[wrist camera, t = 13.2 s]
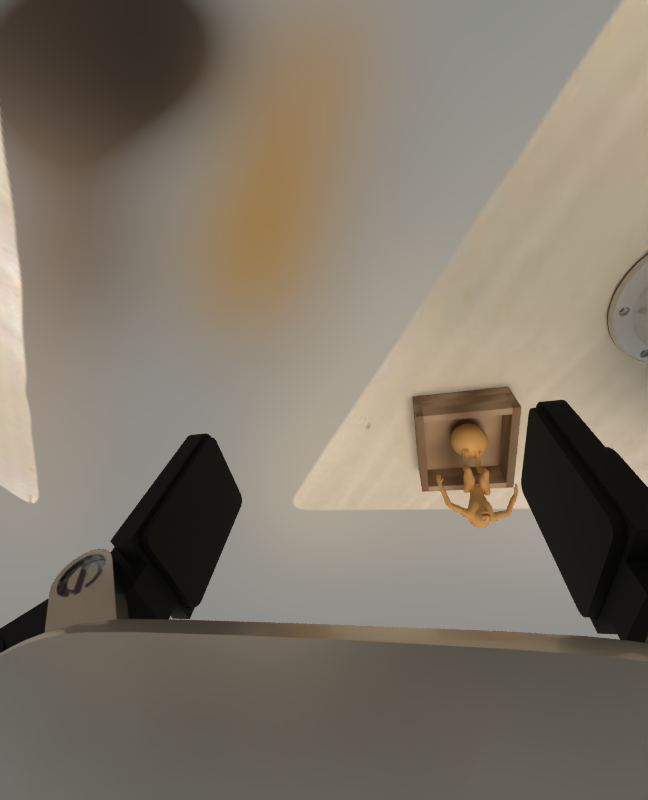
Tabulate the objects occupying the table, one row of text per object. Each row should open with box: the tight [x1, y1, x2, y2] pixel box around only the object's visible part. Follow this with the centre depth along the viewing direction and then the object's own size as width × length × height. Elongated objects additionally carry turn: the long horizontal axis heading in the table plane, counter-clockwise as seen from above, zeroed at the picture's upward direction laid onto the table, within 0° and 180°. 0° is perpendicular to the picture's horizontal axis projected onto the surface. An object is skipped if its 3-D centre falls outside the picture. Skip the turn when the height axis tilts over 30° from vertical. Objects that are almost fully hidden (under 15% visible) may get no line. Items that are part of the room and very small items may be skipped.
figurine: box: [436, 423, 518, 528], centre depth 37 cm, size 8×6×12 cm
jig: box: [413, 387, 521, 492], centre depth 42 cm, size 11×12×4 cm
